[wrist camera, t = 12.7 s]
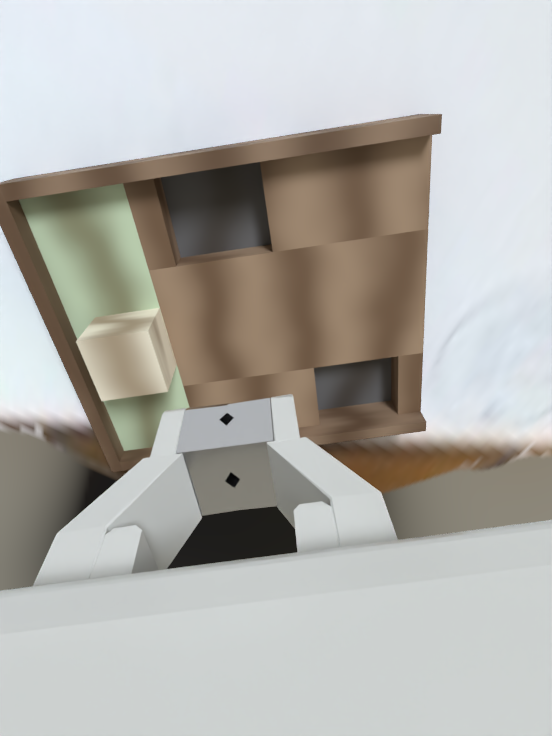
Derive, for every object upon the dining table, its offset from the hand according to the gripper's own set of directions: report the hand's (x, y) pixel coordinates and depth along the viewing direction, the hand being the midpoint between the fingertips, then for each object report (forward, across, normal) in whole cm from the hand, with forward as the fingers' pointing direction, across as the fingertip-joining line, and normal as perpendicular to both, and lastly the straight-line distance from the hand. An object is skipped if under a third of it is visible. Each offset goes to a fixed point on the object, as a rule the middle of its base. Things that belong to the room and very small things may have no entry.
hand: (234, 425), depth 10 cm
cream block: (+23, +10, +8) cm, 26 cm away
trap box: (+25, +1, +8) cm, 26 cm away
